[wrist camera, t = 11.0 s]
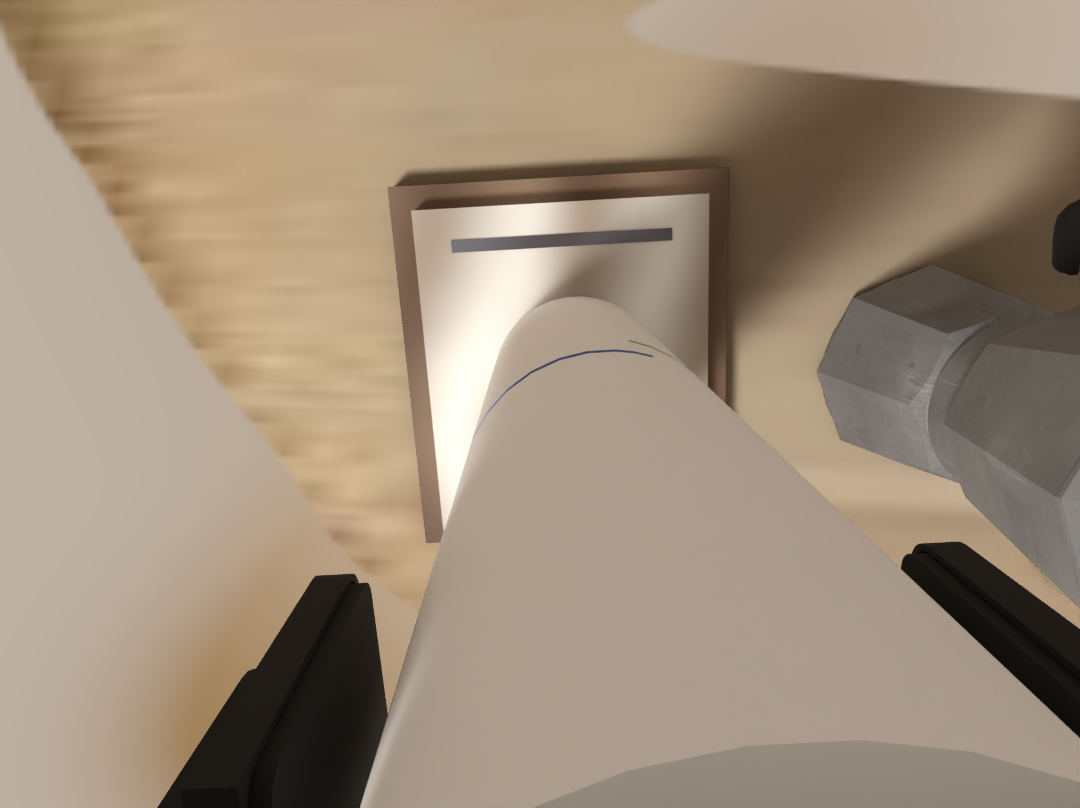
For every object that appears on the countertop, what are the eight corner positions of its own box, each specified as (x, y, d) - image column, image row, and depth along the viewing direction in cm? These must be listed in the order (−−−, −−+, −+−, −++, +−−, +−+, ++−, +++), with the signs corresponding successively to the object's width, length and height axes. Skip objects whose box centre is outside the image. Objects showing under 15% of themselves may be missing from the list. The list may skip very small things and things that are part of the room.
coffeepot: (997, 498, 32) (1531, 814, 15) (802, 504, 32) (1111, 826, 15) (1050, 160, 29) (1859, 59, 11) (828, 166, 28) (1290, 74, 11)
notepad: (722, 169, 28) (734, 165, 27) (717, 517, 33) (728, 534, 31) (392, 188, 29) (383, 185, 27) (429, 533, 33) (423, 551, 31)
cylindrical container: (495, 293, 28) (226, 724, 4) (666, 299, 28) (1479, 756, 4) (492, 456, 30) (300, 1449, 6) (653, 461, 30) (1148, 1460, 6)
